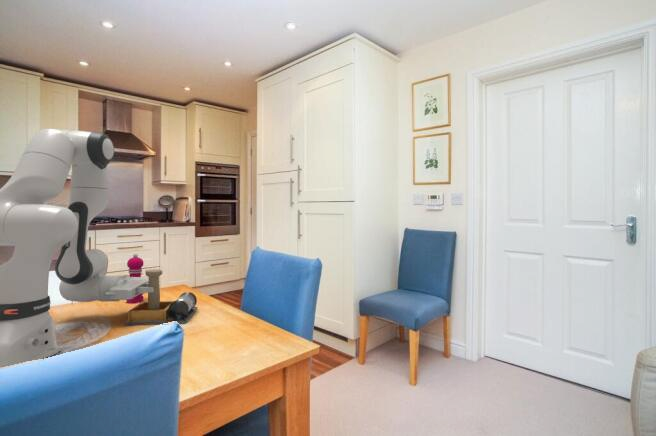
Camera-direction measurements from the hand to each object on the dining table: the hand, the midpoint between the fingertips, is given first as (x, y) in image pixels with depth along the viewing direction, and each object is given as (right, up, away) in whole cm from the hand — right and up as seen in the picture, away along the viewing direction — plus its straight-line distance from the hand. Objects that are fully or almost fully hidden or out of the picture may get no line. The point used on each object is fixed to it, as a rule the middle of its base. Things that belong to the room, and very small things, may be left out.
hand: (156, 288), depth 124 cm
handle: (-1, -9, 0) cm, 9 cm away
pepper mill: (-19, -10, +21) cm, 31 cm away
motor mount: (+3, -10, +1) cm, 11 cm away
